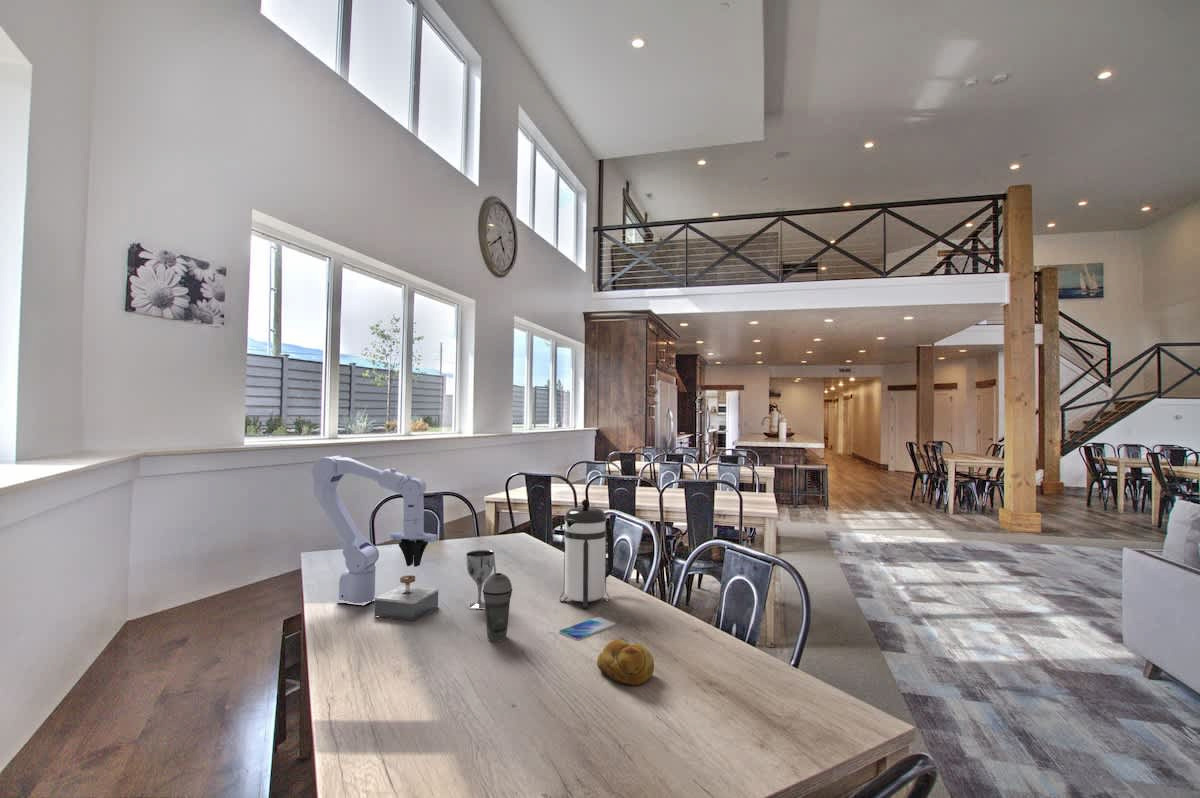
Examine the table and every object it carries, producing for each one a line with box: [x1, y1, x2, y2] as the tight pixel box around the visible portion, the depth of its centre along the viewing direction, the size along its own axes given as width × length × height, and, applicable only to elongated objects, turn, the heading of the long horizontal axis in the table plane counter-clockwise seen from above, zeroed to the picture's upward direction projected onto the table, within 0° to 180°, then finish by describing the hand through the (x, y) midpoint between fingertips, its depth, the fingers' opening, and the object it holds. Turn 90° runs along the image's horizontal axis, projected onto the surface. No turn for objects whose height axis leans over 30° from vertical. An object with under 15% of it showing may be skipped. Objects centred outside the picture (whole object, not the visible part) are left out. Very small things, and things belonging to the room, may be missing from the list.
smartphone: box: [558, 616, 618, 641], centre depth 143 cm, size 7×1×15 cm
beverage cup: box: [482, 554, 513, 642], centre depth 137 cm, size 7×7×20 cm
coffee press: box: [559, 498, 615, 610], centre depth 166 cm, size 17×16×30 cm
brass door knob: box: [399, 575, 416, 595], centre depth 154 cm, size 10×10×6 cm
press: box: [374, 584, 439, 622], centre depth 155 cm, size 12×14×5 cm
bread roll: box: [596, 639, 655, 686], centre depth 117 cm, size 13×10×8 cm
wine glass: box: [465, 549, 495, 608], centre depth 160 cm, size 8×8×15 cm
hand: (413, 565), depth 163 cm, fingers closed
